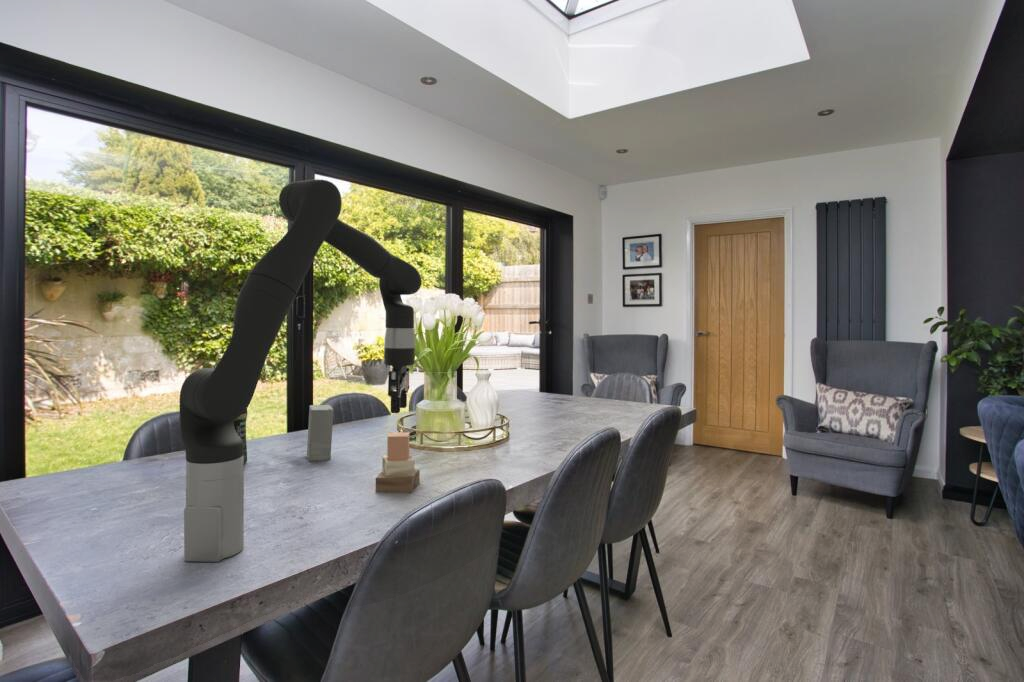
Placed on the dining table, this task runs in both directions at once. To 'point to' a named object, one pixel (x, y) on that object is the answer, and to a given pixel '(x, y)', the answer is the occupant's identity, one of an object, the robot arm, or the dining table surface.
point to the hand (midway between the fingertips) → (398, 410)
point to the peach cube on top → (398, 446)
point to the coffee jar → (242, 431)
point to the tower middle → (398, 467)
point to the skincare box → (319, 432)
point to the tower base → (397, 483)
